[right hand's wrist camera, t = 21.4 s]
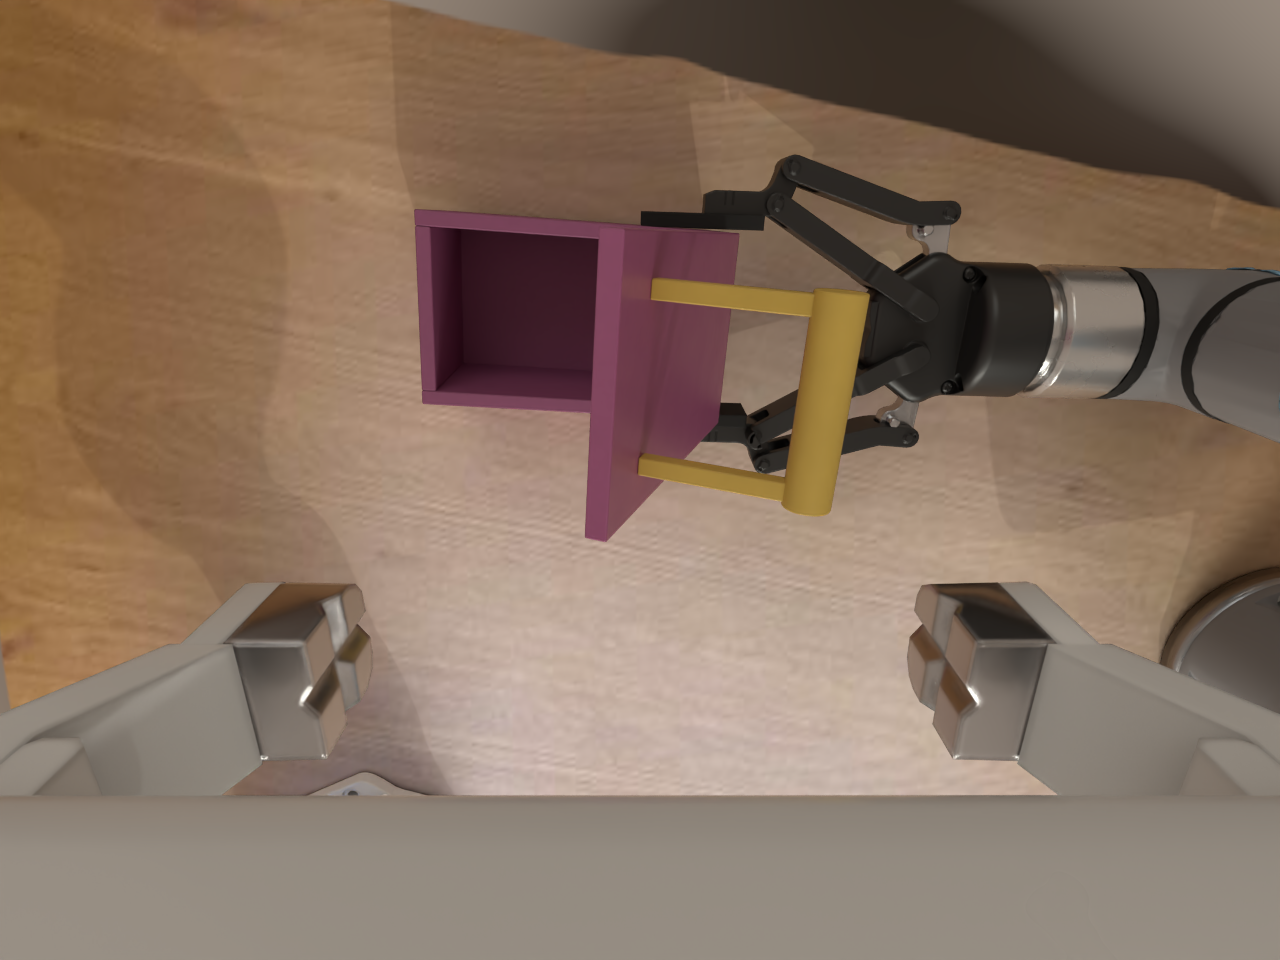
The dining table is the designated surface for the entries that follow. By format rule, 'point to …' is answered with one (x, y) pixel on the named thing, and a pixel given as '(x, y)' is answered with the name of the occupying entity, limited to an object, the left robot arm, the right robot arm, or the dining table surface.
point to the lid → (702, 374)
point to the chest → (507, 309)
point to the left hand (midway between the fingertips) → (638, 320)
